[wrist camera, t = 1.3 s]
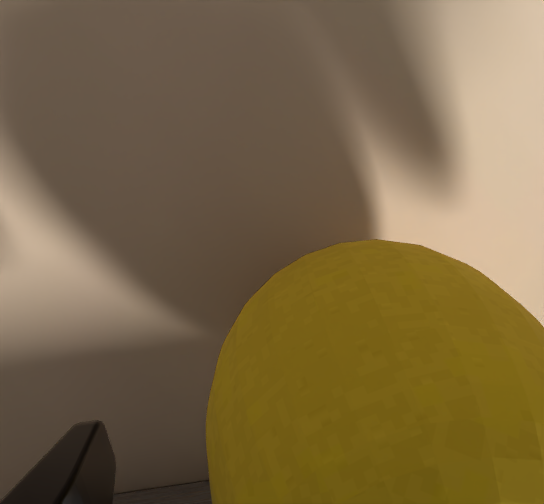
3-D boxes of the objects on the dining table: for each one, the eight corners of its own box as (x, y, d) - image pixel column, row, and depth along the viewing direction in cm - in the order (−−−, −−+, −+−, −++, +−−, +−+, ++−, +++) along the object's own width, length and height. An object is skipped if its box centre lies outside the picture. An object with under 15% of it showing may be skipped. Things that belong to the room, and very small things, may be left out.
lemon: (171, 349, 12) (91, 879, 5) (287, 132, 10) (453, 463, 3) (372, 423, 13) (546, 912, 6) (506, 246, 11) (984, 655, 4)
